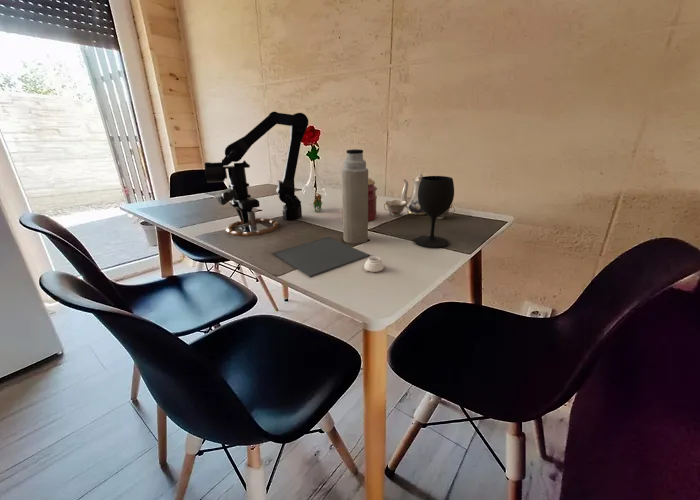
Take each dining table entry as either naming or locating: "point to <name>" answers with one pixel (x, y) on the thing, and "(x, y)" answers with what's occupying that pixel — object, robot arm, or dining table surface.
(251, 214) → the metal peg stand
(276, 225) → the ring
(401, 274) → the dining table surface
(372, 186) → the kitchen canister
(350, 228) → the thermos bottle
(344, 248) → the mat
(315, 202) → the figurine
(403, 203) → the chinaware
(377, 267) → the white jar
